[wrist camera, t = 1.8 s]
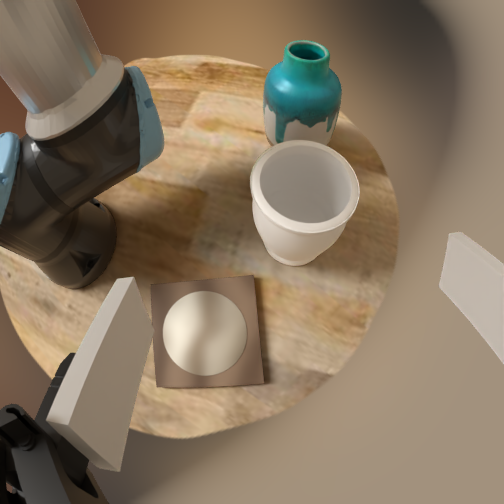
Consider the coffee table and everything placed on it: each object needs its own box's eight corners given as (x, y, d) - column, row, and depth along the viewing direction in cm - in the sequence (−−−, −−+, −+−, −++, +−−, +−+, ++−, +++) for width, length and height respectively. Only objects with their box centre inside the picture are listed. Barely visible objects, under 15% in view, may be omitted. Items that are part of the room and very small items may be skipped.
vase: (340, 152, 45) (370, 62, 27) (290, 182, 44) (303, 86, 25) (300, 114, 48) (310, 24, 30) (251, 139, 47) (243, 44, 28)
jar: (243, 256, 40) (231, 207, 26) (271, 194, 43) (273, 126, 29) (316, 285, 39) (344, 250, 25) (339, 220, 42) (370, 161, 27)
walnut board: (159, 386, 35) (156, 387, 34) (154, 286, 40) (150, 284, 38) (264, 382, 35) (264, 383, 34) (253, 277, 40) (253, 274, 38)
